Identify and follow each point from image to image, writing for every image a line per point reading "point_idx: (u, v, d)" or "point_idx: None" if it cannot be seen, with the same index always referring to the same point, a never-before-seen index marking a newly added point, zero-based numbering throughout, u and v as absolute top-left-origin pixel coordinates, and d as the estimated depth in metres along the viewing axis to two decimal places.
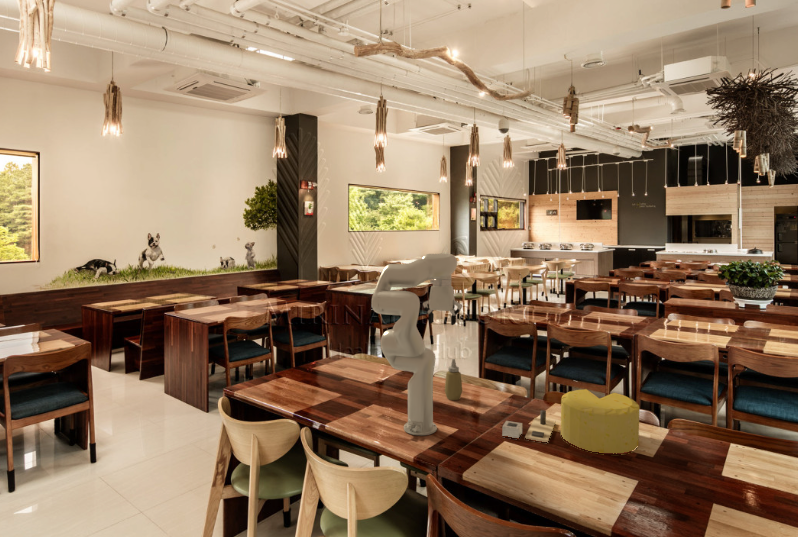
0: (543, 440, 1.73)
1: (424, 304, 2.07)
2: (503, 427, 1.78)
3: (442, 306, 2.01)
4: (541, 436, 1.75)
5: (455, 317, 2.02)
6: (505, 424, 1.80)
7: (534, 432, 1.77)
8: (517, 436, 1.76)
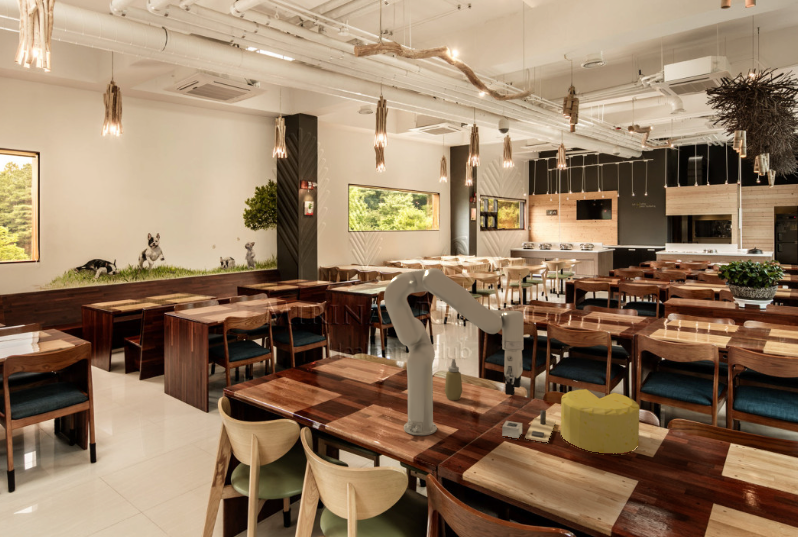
0: (543, 440, 1.73)
1: (509, 375, 1.71)
2: (503, 427, 1.78)
3: (521, 370, 1.78)
4: (541, 436, 1.75)
5: None
6: (505, 424, 1.80)
7: (534, 432, 1.77)
8: (517, 436, 1.76)
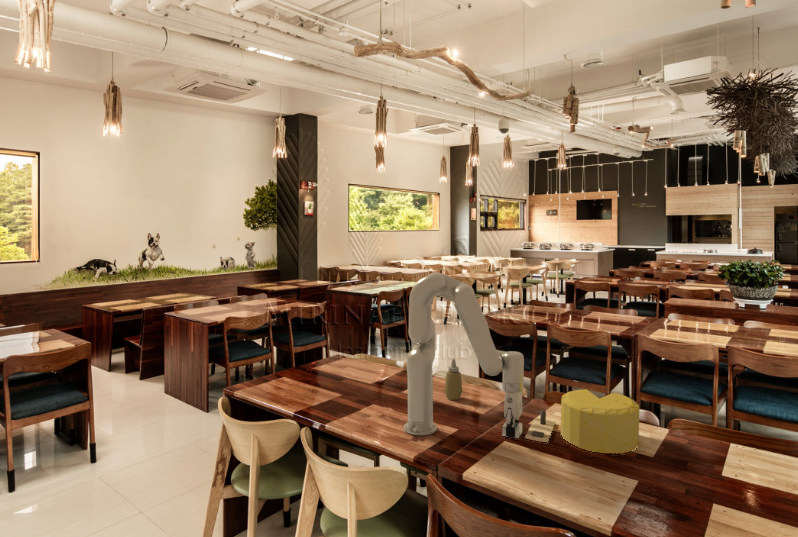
0: (543, 440, 1.73)
1: (510, 420, 1.73)
2: (503, 427, 1.78)
3: (520, 410, 1.79)
4: (541, 436, 1.75)
5: None
6: (505, 424, 1.80)
7: (534, 432, 1.77)
8: (517, 436, 1.76)
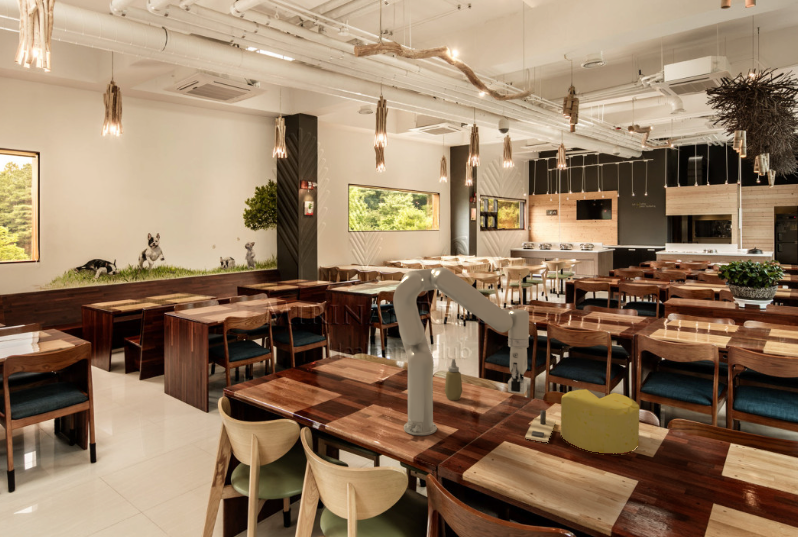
0: (543, 440, 1.73)
1: (515, 374, 1.79)
2: (509, 382, 1.84)
3: (525, 366, 1.85)
4: (541, 436, 1.75)
5: None
6: (510, 380, 1.86)
7: (534, 432, 1.77)
8: (522, 390, 1.82)
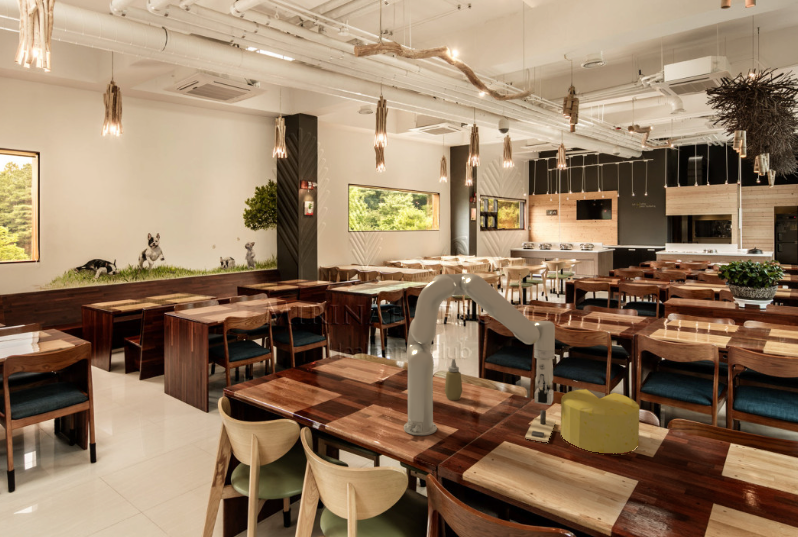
0: (543, 440, 1.73)
1: (542, 386, 1.80)
2: (535, 393, 1.85)
3: (552, 377, 1.86)
4: (541, 436, 1.75)
5: None
6: (537, 391, 1.87)
7: (534, 432, 1.77)
8: (549, 401, 1.83)
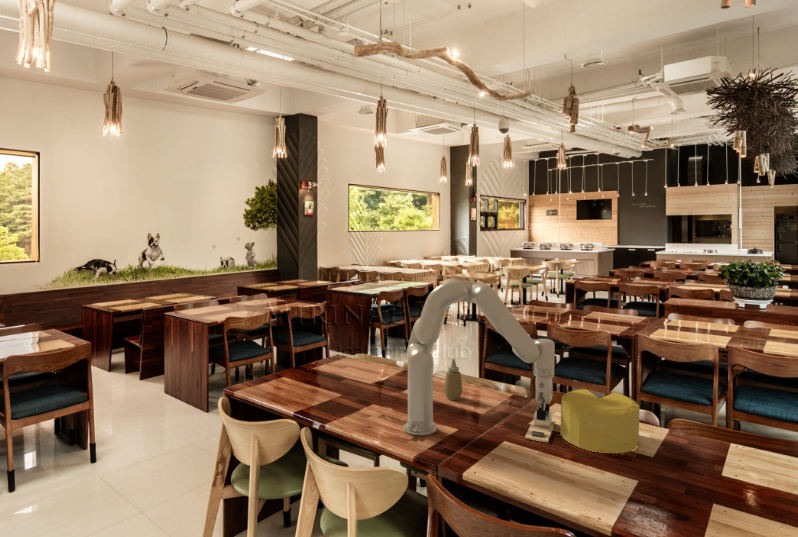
0: (543, 440, 1.73)
1: (541, 402, 1.80)
2: (534, 416, 1.86)
3: (551, 395, 1.87)
4: (541, 436, 1.75)
5: None
6: (536, 413, 1.87)
7: (534, 432, 1.77)
8: (548, 424, 1.84)
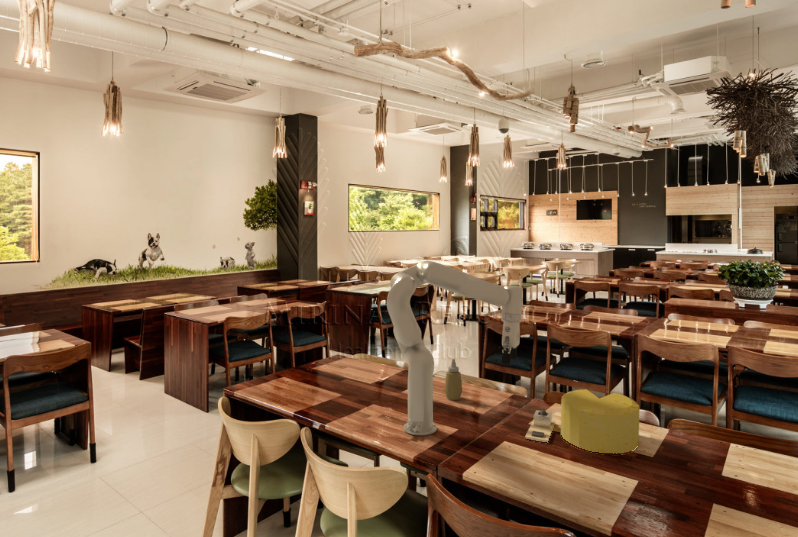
0: (543, 440, 1.73)
1: (506, 345, 1.82)
2: (534, 416, 1.86)
3: (518, 341, 1.89)
4: (541, 436, 1.75)
5: None
6: (536, 413, 1.87)
7: (534, 432, 1.77)
8: (548, 424, 1.84)
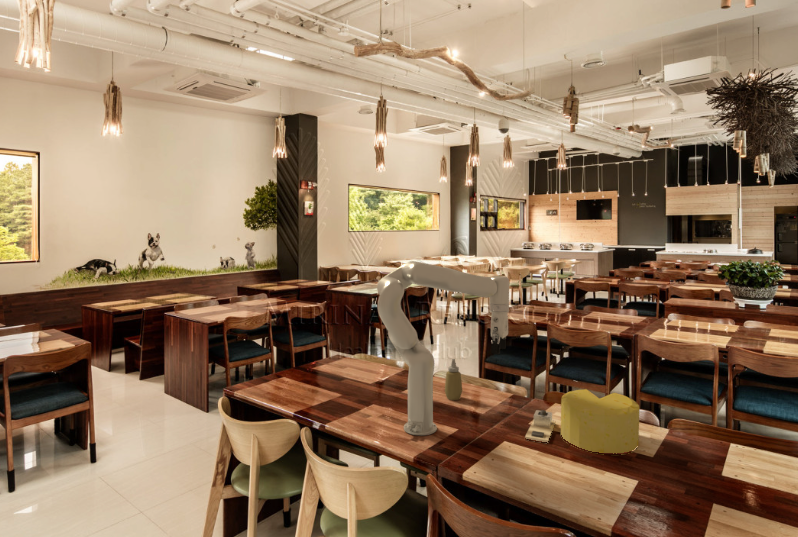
0: (543, 440, 1.73)
1: (495, 335, 1.83)
2: (534, 416, 1.86)
3: (506, 331, 1.90)
4: (541, 436, 1.75)
5: None
6: (536, 413, 1.87)
7: (534, 432, 1.77)
8: (548, 424, 1.84)
